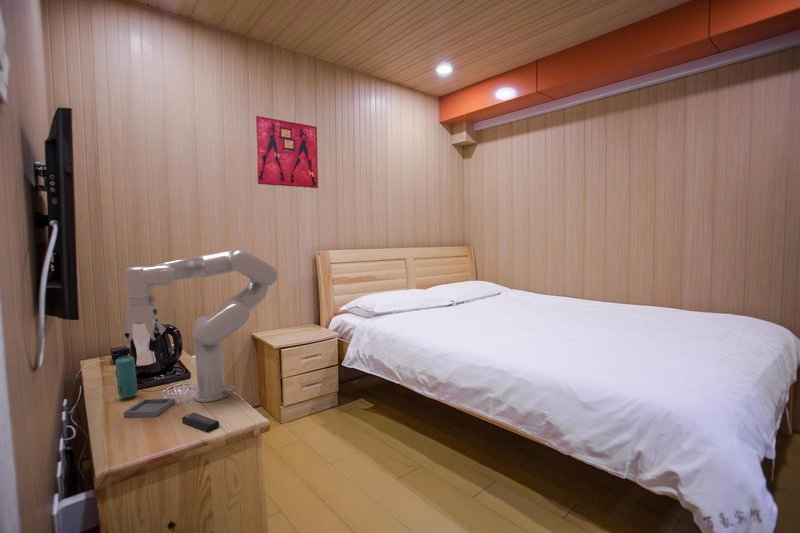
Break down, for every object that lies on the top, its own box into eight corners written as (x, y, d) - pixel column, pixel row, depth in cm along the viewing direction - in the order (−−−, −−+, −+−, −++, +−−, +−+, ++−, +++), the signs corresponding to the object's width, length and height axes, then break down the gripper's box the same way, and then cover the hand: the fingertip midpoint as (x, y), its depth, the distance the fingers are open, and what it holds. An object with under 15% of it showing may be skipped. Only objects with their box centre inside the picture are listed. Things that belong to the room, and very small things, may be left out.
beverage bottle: (142, 394, 168) (138, 345, 166) (130, 401, 161) (125, 350, 159) (127, 394, 168) (122, 346, 167) (114, 401, 162) (109, 350, 160)
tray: (175, 403, 158) (174, 398, 158) (156, 416, 147) (156, 411, 147) (144, 404, 158) (144, 398, 158) (124, 417, 147) (123, 412, 147)
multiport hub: (207, 434, 134) (207, 427, 134) (181, 424, 142) (181, 417, 141) (220, 428, 137) (219, 421, 137) (194, 418, 145) (193, 412, 145)
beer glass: (141, 360, 154) (137, 320, 153) (161, 359, 155) (157, 319, 153) (130, 366, 147) (126, 324, 146) (151, 365, 148) (147, 323, 147)
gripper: (170, 298, 153) (174, 347, 154) (123, 300, 153) (128, 348, 155) (158, 302, 145) (163, 353, 147) (109, 303, 145) (114, 354, 147)
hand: (145, 350), depth 151 cm, fingers closed on beer glass, 6 cm apart
